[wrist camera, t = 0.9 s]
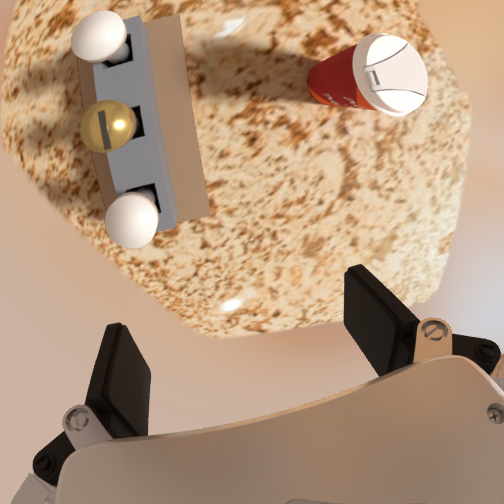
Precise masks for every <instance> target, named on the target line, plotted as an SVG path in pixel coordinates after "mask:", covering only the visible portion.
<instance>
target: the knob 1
mask: <svg viewBox="0 0 504 504" xmlns="http://www.w3.org/2000/svg"><path fill="white" fill-rule="evenodd" d="M126 37H127V28H126V25H125V24H124V22H123V21H122V19H121V18H120V17H119V16H118V15H117V14H116V13H114V12H112V11H98V12H95V13H92V14H90V15H89V16H87V17H86V18H84V19H83V20H82V21H81V22H80V23H79V24H78V25H77V27H76V28H75V30H74V32H73V34H72V37H71V48H72V50H73V52H74V54H75V55H76V56H78V57H80V58H82V59H84V60H86V61H88V62H92V63H98V62H102V61H105V60H108V61H110V62H111V63H113V64H114V65H116V66H117V65H120V64H123V63H127V62H130V61H131V60H132V57H133V52H132V49H131V48H130V47H129V46H128V45H127V44H126V43H125V41H126Z"/></svg>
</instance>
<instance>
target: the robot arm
mask: <svg viewBox="0 0 504 504" xmlns="http://www.w3.org/2000/svg"><path fill="white" fill-rule="evenodd" d="M344 325H345V327H346V329H347V330H348V332H349V333H350V334H351V336H352V337H353V339H354V340H355V342H356V343H357V345H358V346H359V347H360V349H361V350H362V352H363V353H364V355H365V356H366V358H367V359H368V361H369V362H370V363H371V365H372V366H373V368H374V369H375V371H376V373H377V374H378V376H379V378H376V379H374V380H371V381H369V382H366V383H364V384H361V385H358V386H356V387H354V388H351V389H348V390H345V391H343V392H340V393H337V394H334V395H332V396H329V397H326V398H323V399H320V400H317V401H314V402H311V403H307V404H304V405H301V406H298V407H294V408H291V409H287V410H284V411H280V412H277V413H273V414H269V415H265V416H261V417H257V418H253V419H249V420H244V421H239V422H235V423H230V424H225V425H220V426H214V427H209V428H203V429H197V430H191V431H183V432H175V433H167V434H159V435H150V436H148V417H149V398H150V383H151V372H150V369H149V367H148V365H147V363H146V361H145V360H144V358H143V356H142V354H141V353H140V351H139V349H138V347H137V345H136V343H135V342H134V340H133V338H132V336H131V334H130V333H129V330H128V328H127V327H126V325H122V324H121V323H114V324H109V325H107V327H106V330H105V333H104V336H103V339H102V343H101V346H100V349H99V353H98V356H97V359H96V362H95V365H94V369H93V373H92V376H91V380H90V384H89V388H88V392H87V396H86V401H85V405H76V406H74V407H72V408H70V409H69V410H68V411H67V412H66V414H65V415H64V418H63V421H62V425H63V428H64V432H62V433H61V434H60V435H59V436H57V437H56V438H55V439H54V440H53V441H51V442H50V443H49V444H48V445H47V446H45V447H44V448H43V449H42V450H41V451H39V452H38V453H37V454H36V456H35V458H34V460H33V470H34V473H33V475H32V474H30V473H29V475H28V477H27V478H26V480H25V481H24V482H23V484H22V485H21V487H20V489H19V490H18V492H17V493H16V495H15V496H14V498H13V500H12V502H11V504H504V354H501V352H500V349H499V347H498V345H497V344H496V343H495V342H493V341H491V340H487V339H483V338H476V337H470V336H464V335H458V334H452V331H451V327H450V326H449V324H448V323H446V322H445V321H444V320H441V319H438V318H427V319H424V320H422V321H420V320H419V319H418V318H417V317H416V316H415V315H414V314H413V313H412V312H411V311H410V310H409V309H408V308H407V307H406V306H405V305H404V304H403V303H402V302H401V301H400V300H399V299H398V298H397V297H396V296H395V295H394V294H393V293H392V292H391V291H390V290H389V289H387V288H386V287H385V286H384V285H383V284H382V283H381V282H380V281H379V280H378V279H377V278H376V277H375V276H374V275H373V274H372V273H371V272H370V271H368V270H367V269H366V268H365V267H364V266H363V265H362V264H359V265H355V266H352V267H349V268H348V271H347V272H345V274H344Z"/></svg>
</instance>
